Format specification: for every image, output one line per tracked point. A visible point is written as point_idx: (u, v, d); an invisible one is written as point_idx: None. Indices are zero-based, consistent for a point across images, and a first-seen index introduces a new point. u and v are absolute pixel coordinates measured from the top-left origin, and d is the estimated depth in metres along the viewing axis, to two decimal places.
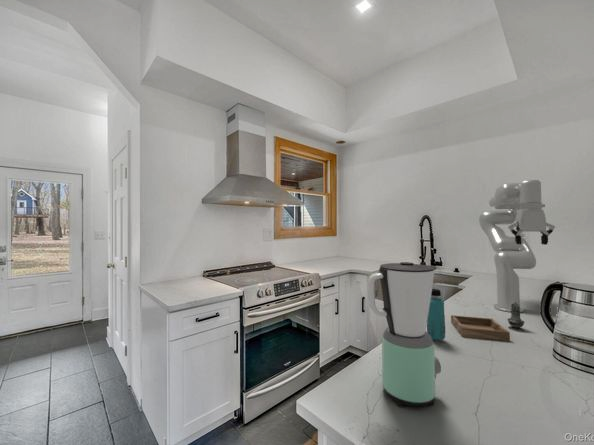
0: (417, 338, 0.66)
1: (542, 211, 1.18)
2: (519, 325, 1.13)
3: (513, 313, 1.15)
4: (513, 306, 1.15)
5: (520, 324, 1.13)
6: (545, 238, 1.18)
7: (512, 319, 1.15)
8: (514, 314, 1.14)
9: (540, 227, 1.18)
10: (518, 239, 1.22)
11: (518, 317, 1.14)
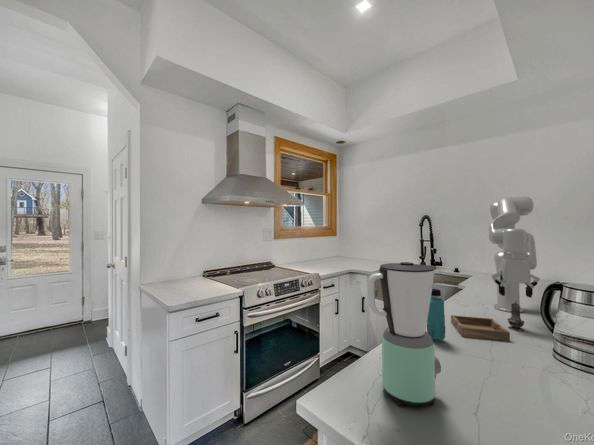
0: (417, 338, 0.66)
1: (526, 262, 1.13)
2: (519, 325, 1.13)
3: (513, 313, 1.15)
4: (513, 306, 1.15)
5: (520, 324, 1.13)
6: (529, 291, 1.12)
7: (512, 319, 1.15)
8: (514, 314, 1.14)
9: (524, 279, 1.12)
10: (502, 290, 1.16)
11: (518, 317, 1.14)
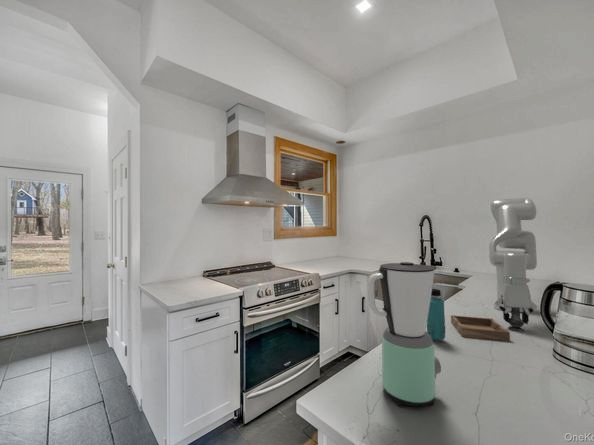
0: (417, 338, 0.66)
1: (527, 287, 1.13)
2: (519, 325, 1.13)
3: (513, 313, 1.15)
4: None
5: (520, 324, 1.13)
6: (525, 317, 1.13)
7: (512, 319, 1.15)
8: (514, 314, 1.14)
9: (525, 304, 1.13)
10: (506, 317, 1.16)
11: (518, 317, 1.14)
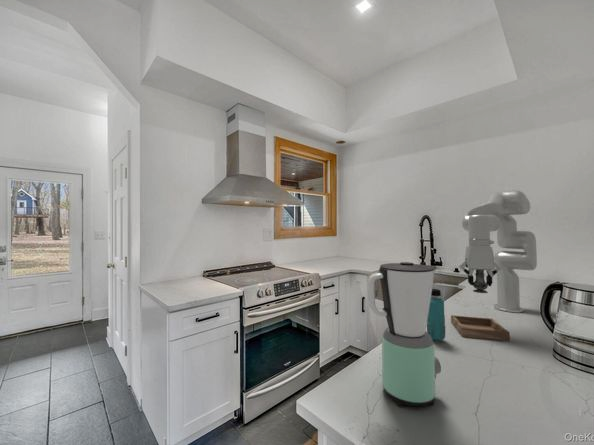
0: (417, 338, 0.66)
1: (490, 248, 1.11)
2: (483, 287, 1.11)
3: (477, 275, 1.13)
4: None
5: (484, 286, 1.10)
6: (489, 279, 1.11)
7: (476, 282, 1.13)
8: (478, 276, 1.12)
9: (488, 266, 1.10)
10: (470, 279, 1.13)
11: (482, 279, 1.12)
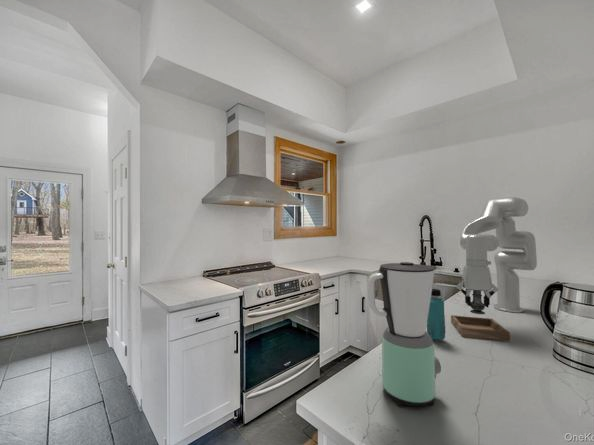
0: (417, 338, 0.66)
1: (487, 269, 1.10)
2: (480, 308, 1.10)
3: (474, 296, 1.12)
4: None
5: (481, 307, 1.10)
6: (486, 300, 1.11)
7: (473, 302, 1.12)
8: (475, 297, 1.12)
9: (485, 287, 1.10)
10: (468, 300, 1.13)
11: (479, 300, 1.11)
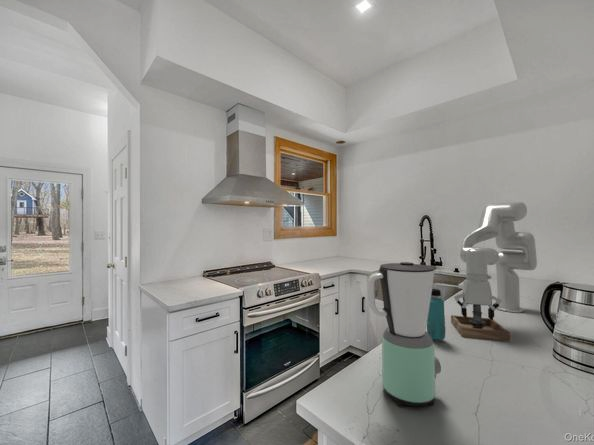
0: (417, 338, 0.66)
1: (488, 284, 1.10)
2: (480, 326, 1.10)
3: (474, 314, 1.12)
4: (474, 306, 1.12)
5: (481, 325, 1.10)
6: (491, 313, 1.10)
7: (473, 320, 1.12)
8: (476, 315, 1.12)
9: (486, 302, 1.10)
10: (464, 312, 1.13)
11: (479, 318, 1.11)
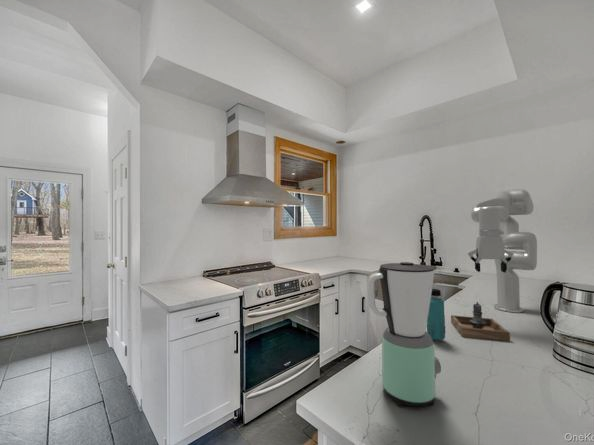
0: (417, 338, 0.66)
1: (500, 239, 1.15)
2: (480, 326, 1.10)
3: (475, 314, 1.12)
4: (475, 306, 1.12)
5: (481, 325, 1.10)
6: (504, 266, 1.16)
7: (474, 320, 1.12)
8: (476, 315, 1.12)
9: (498, 255, 1.16)
10: (477, 266, 1.19)
11: (479, 318, 1.11)
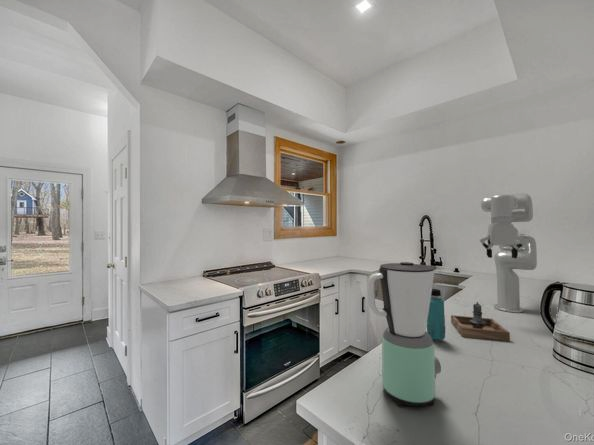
0: (417, 338, 0.66)
1: (512, 225, 1.20)
2: (480, 326, 1.10)
3: (475, 314, 1.12)
4: (475, 306, 1.12)
5: (481, 325, 1.10)
6: (515, 252, 1.20)
7: (474, 320, 1.12)
8: (476, 315, 1.12)
9: (510, 242, 1.20)
10: (489, 253, 1.24)
11: (479, 318, 1.11)
